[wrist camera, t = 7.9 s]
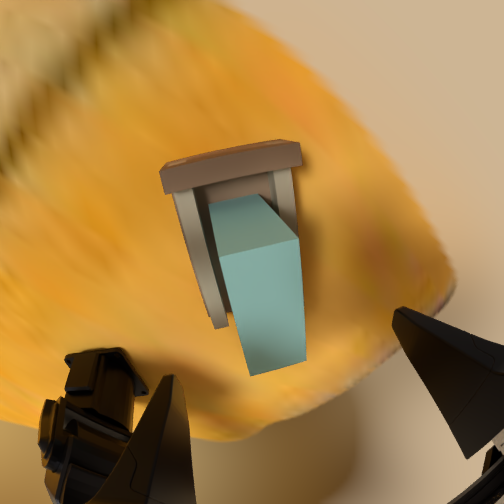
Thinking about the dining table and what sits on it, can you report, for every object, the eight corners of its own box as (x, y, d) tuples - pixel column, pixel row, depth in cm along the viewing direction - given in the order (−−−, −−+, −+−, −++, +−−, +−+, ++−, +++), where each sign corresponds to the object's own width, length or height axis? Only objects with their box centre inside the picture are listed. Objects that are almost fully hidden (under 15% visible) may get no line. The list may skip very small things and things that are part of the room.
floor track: (297, 287, 21) (314, 314, 18) (208, 310, 20) (211, 341, 17) (279, 139, 16) (299, 142, 13) (166, 162, 15) (158, 171, 12)
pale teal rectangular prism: (274, 288, 20) (309, 359, 13) (230, 299, 19) (250, 376, 13) (259, 192, 16) (302, 237, 10) (208, 204, 16) (218, 257, 10)
